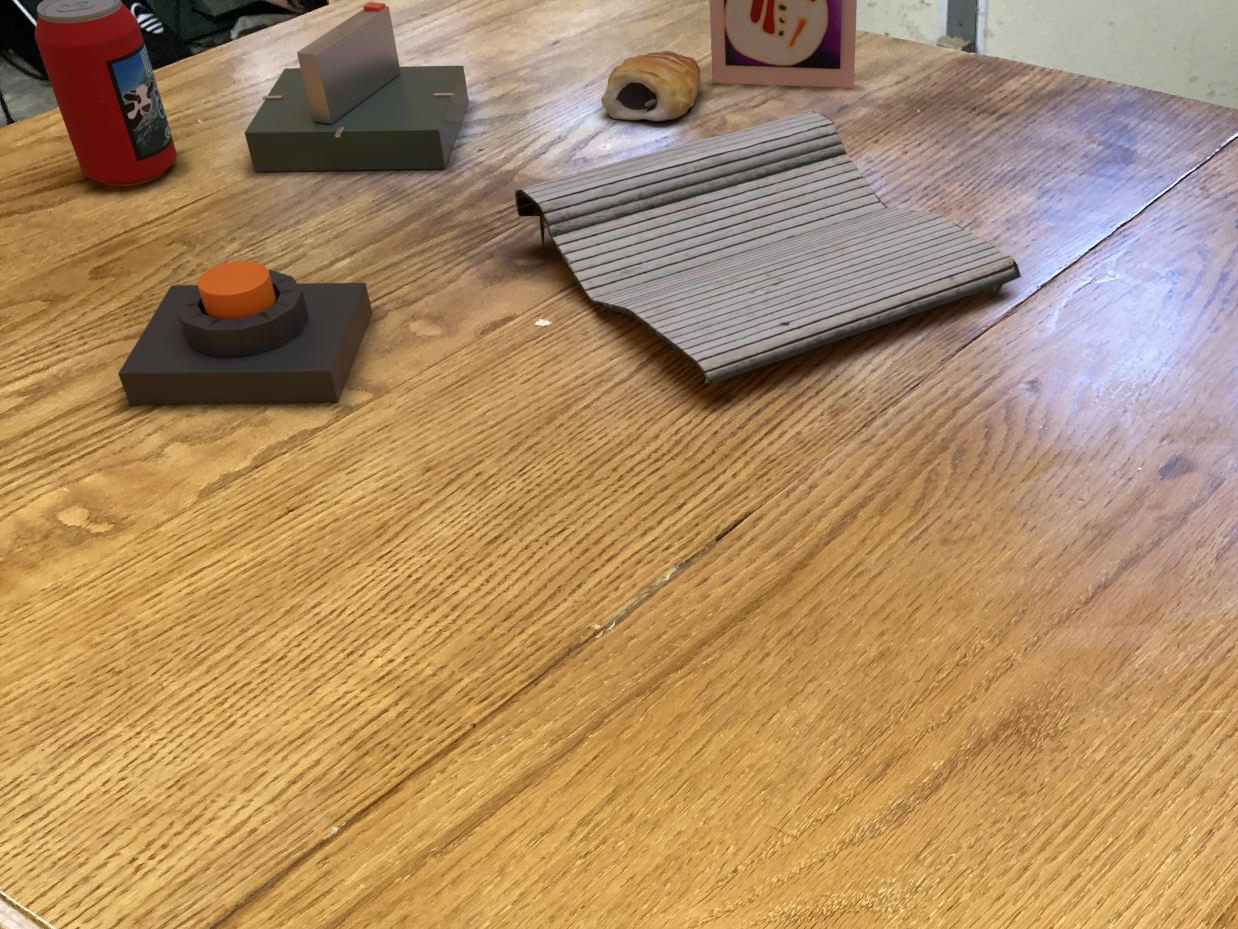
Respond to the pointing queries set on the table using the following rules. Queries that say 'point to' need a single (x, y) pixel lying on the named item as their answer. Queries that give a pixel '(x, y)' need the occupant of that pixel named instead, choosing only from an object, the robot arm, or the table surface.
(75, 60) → the beverage can
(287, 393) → the button box
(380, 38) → the grey rectangular slab
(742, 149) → the mat
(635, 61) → the pastry
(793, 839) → the table surface
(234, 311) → the button
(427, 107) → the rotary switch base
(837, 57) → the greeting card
